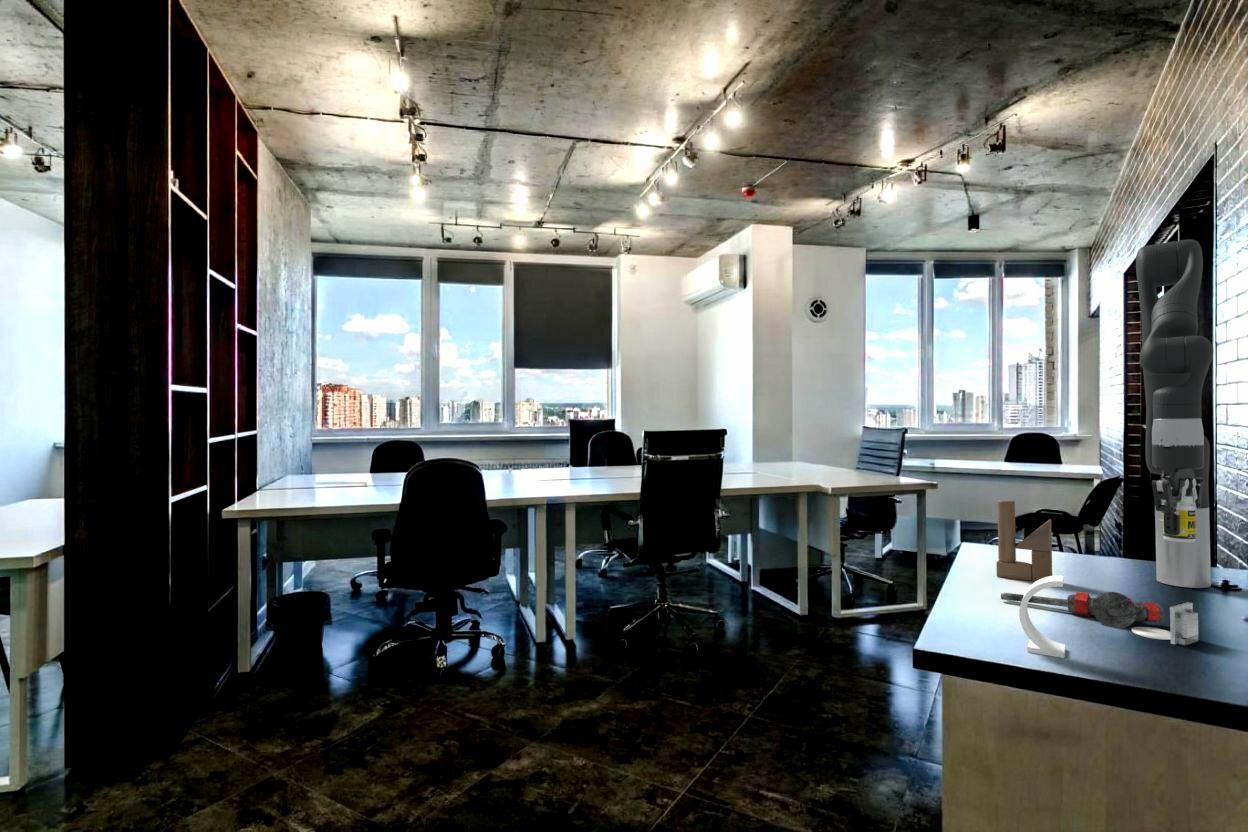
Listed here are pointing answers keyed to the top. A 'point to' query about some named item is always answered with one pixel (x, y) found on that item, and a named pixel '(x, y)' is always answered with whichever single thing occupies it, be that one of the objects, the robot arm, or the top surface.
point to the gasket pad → (1152, 633)
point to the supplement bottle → (1184, 523)
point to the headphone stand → (1036, 639)
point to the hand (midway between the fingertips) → (1179, 532)
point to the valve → (1102, 607)
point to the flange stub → (1183, 624)
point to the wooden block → (1022, 547)
